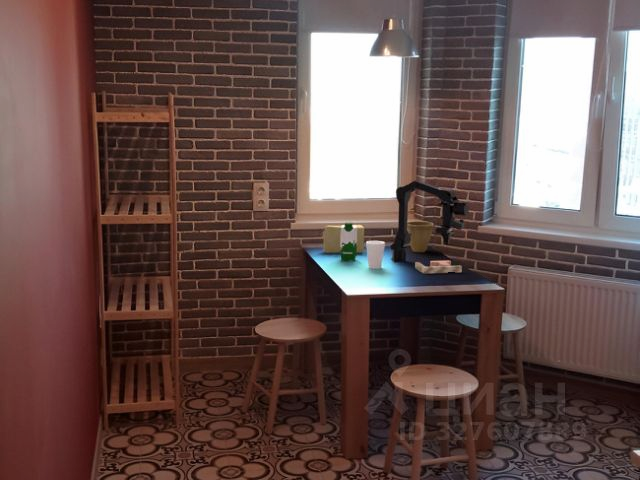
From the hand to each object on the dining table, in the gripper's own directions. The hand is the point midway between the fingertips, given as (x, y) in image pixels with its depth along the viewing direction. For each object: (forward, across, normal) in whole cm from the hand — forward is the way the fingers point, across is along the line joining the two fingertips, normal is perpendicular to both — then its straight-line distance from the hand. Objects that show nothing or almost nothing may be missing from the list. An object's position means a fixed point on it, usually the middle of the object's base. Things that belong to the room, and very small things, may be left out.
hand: (447, 244), depth 395 cm
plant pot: (+11, +32, +28) cm, 44 cm away
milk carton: (+11, -10, +52) cm, 54 cm away
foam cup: (+11, -20, +31) cm, 39 cm away
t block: (+12, -6, 0) cm, 13 cm away
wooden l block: (+12, -8, +2) cm, 14 cm away
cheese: (+10, +8, +64) cm, 65 cm away
